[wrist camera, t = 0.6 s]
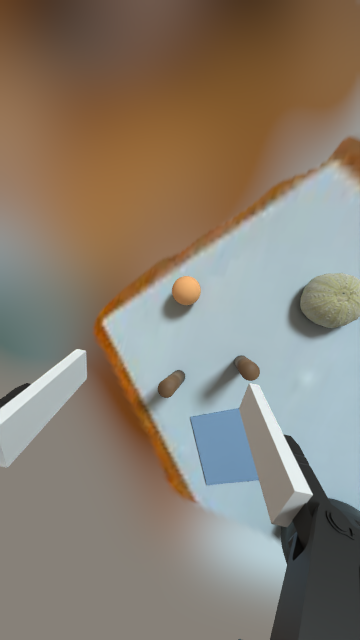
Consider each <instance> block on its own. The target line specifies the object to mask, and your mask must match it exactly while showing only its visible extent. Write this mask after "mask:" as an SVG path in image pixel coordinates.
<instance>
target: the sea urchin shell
mask: <svg viewBox="0 0 360 640" xmlns="http://www.w3.org/2000/svg"><path fill="white" fill-rule="evenodd" d="M300 307H301V311H302V312H303V313H304V314H305V315H306V317H307V318H308V319H310V320H311V321H313V322H314V323H316V324H318V325H321V326H324V327H327V328H336V327H339V326H344V325H346V324H348V323H350V322H352V321H354V320H356V319H358V317H359V316H360V280H359V279H357V278H356V277H354V276H351V275H346V274H343V273H338V274H330V273H329V274H324V275H321V276H317V277H316V278H314V279H312V280H311V281H310V282H309V283H308V285H307V286H306V287H305V288H304V290H303V294H302V296H301V303H300Z"/></svg>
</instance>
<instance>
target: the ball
mask: <svg viewBox="0 0 360 640" xmlns="http://www.w3.org/2000/svg"><path fill="white" fill-rule="evenodd" d="M200 293H201V289H200V285H199V283H198V282H197V280H195V279H194V278H192V277H189V276H184V277H181V278H179V279H177V280H176V281H175V283H174V285H173V288H172V294H173V297H174V299H175V300H176V301H177V302H178V303H180V304H182V305H190V304H193V303H195V302H196V301H197V300H198V298H199V296H200Z"/></svg>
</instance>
